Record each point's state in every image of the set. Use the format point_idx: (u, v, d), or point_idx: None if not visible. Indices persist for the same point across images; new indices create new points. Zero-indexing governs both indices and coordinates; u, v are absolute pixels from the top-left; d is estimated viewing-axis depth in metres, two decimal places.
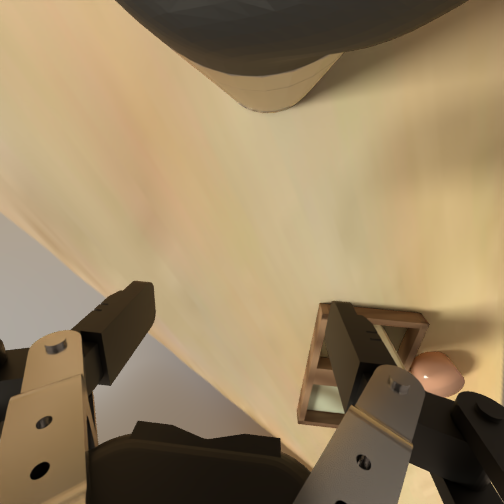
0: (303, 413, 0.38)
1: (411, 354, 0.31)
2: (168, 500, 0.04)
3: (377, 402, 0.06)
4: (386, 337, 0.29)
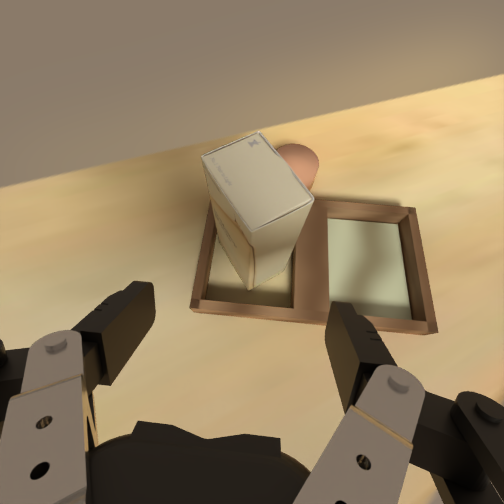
0: (406, 324, 0.21)
1: None
2: (168, 500, 0.04)
3: (377, 402, 0.06)
4: (216, 227, 0.23)
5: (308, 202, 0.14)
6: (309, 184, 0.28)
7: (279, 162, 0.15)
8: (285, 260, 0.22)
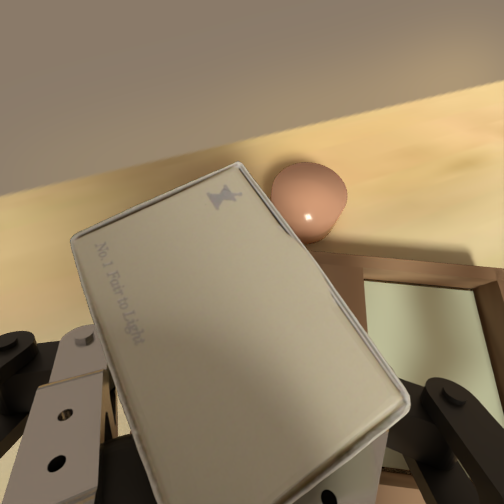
0: None
1: None
2: None
3: None
4: None
5: (390, 416, 0.04)
6: (331, 226, 0.18)
7: (292, 257, 0.05)
8: None
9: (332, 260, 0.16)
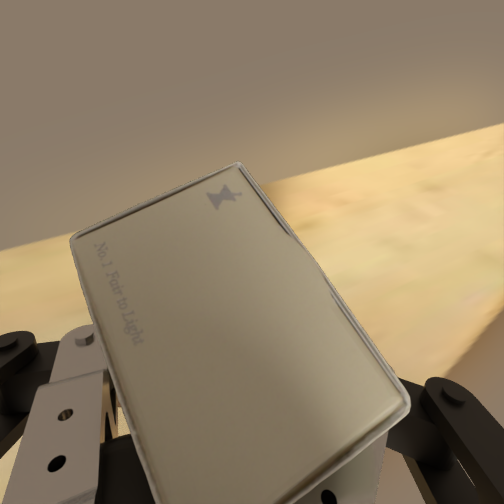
0: None
1: None
2: None
3: None
4: None
5: (390, 418, 0.04)
6: None
7: (291, 257, 0.05)
8: None
9: None
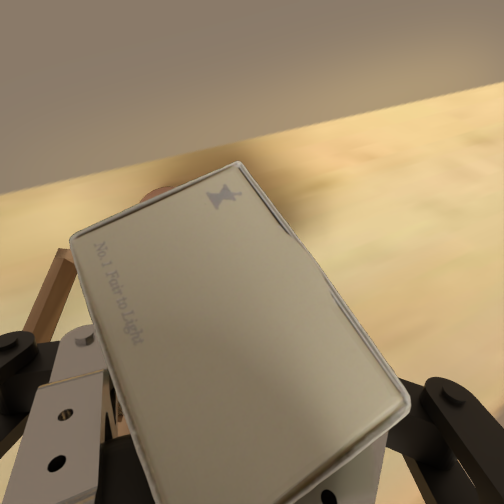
0: None
1: None
2: None
3: None
4: None
5: (390, 417, 0.04)
6: None
7: (291, 257, 0.05)
8: None
9: None
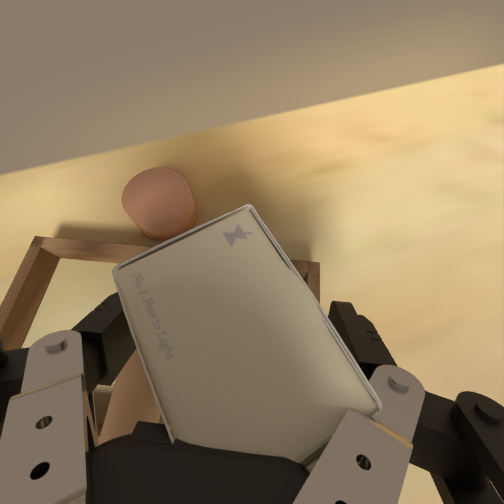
0: None
1: (97, 248, 0.18)
2: (168, 500, 0.04)
3: None
4: None
5: None
6: (179, 224, 0.20)
7: (292, 288, 0.07)
8: None
9: None
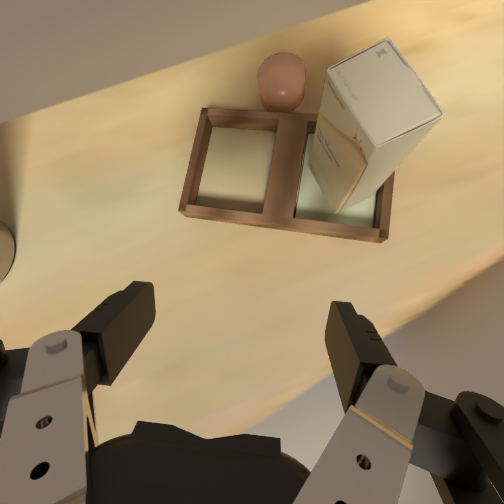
0: (359, 230, 0.24)
1: (243, 114, 0.28)
2: (168, 500, 0.04)
3: (377, 402, 0.06)
4: (311, 150, 0.24)
5: (436, 118, 0.14)
6: (295, 97, 0.28)
7: (408, 73, 0.15)
8: (379, 184, 0.23)
9: (290, 117, 0.27)
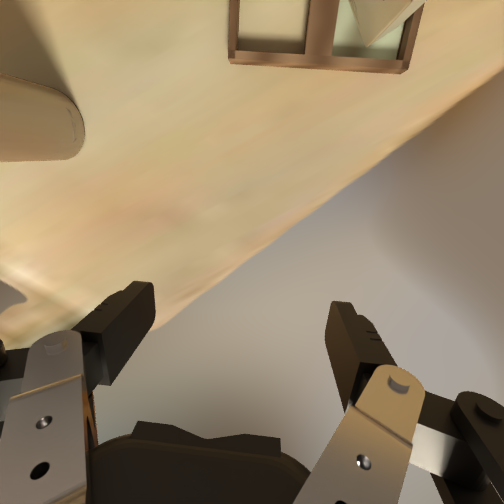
0: (386, 63, 0.29)
1: None
2: (168, 500, 0.04)
3: (377, 402, 0.06)
4: None
5: None
6: None
7: None
8: (412, 13, 0.26)
9: None
